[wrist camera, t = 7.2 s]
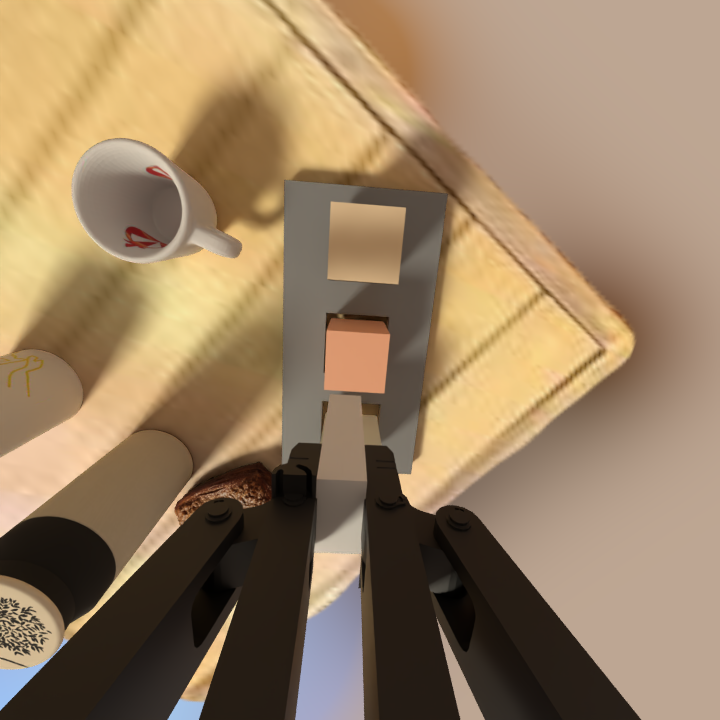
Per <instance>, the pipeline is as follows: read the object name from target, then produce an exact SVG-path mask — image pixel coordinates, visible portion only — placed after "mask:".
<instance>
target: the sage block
mask: <svg viewBox="0 0 720 720" xmlns="http://www.w3.org/2000/svg"><path fill="white" fill-rule="evenodd" d="M326 415H327V413H326V414H325V419H324V425H323V431H322V436H321V442H320V444H322V441H323V435H324V428H325V422H326ZM362 417H363V431H364V445H381V440H380V433H379V427H378V420H377V415H362Z"/></svg>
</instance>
